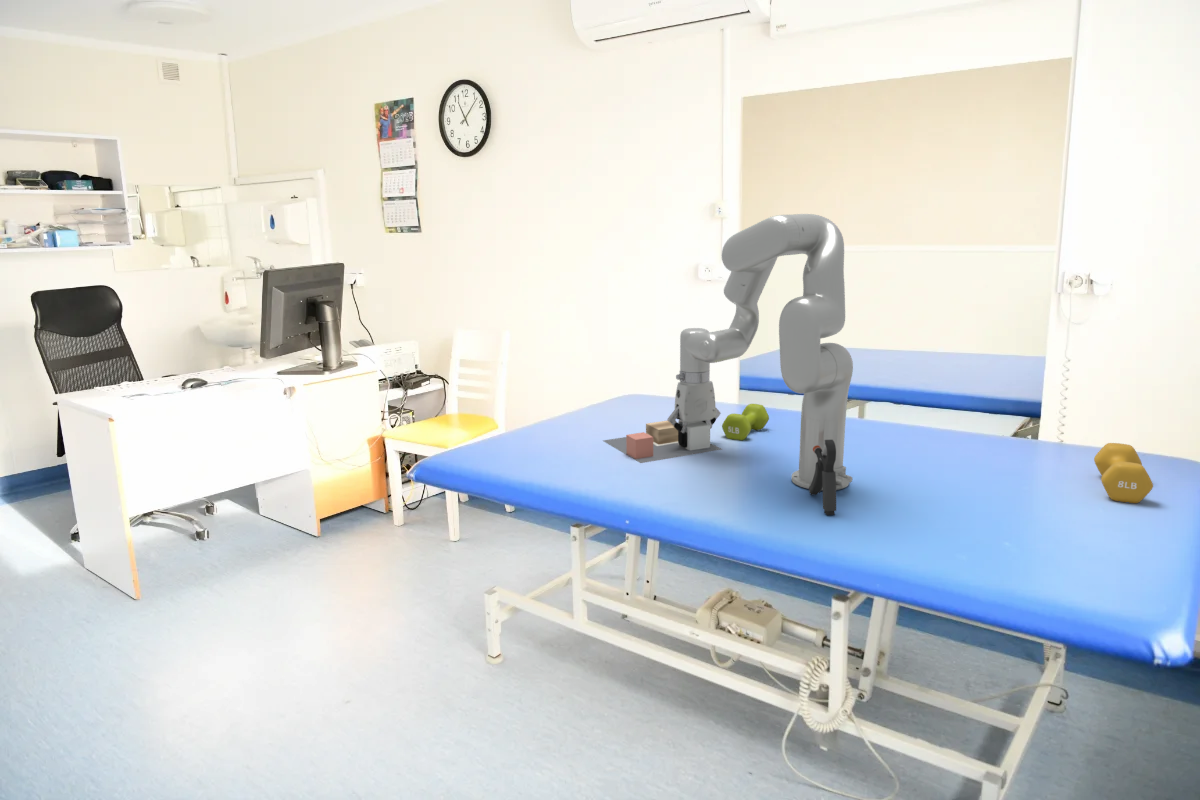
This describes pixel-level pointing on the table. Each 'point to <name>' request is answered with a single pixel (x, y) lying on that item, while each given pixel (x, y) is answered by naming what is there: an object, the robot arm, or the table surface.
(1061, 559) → the table surface
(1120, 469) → the dumbbell
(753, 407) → the dumbbell
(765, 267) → the robot arm
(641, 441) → the red cube
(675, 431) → the oak base
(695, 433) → the grey cube
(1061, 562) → the table surface
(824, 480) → the hand grip strengthener
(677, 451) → the grey mat
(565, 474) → the table surface
